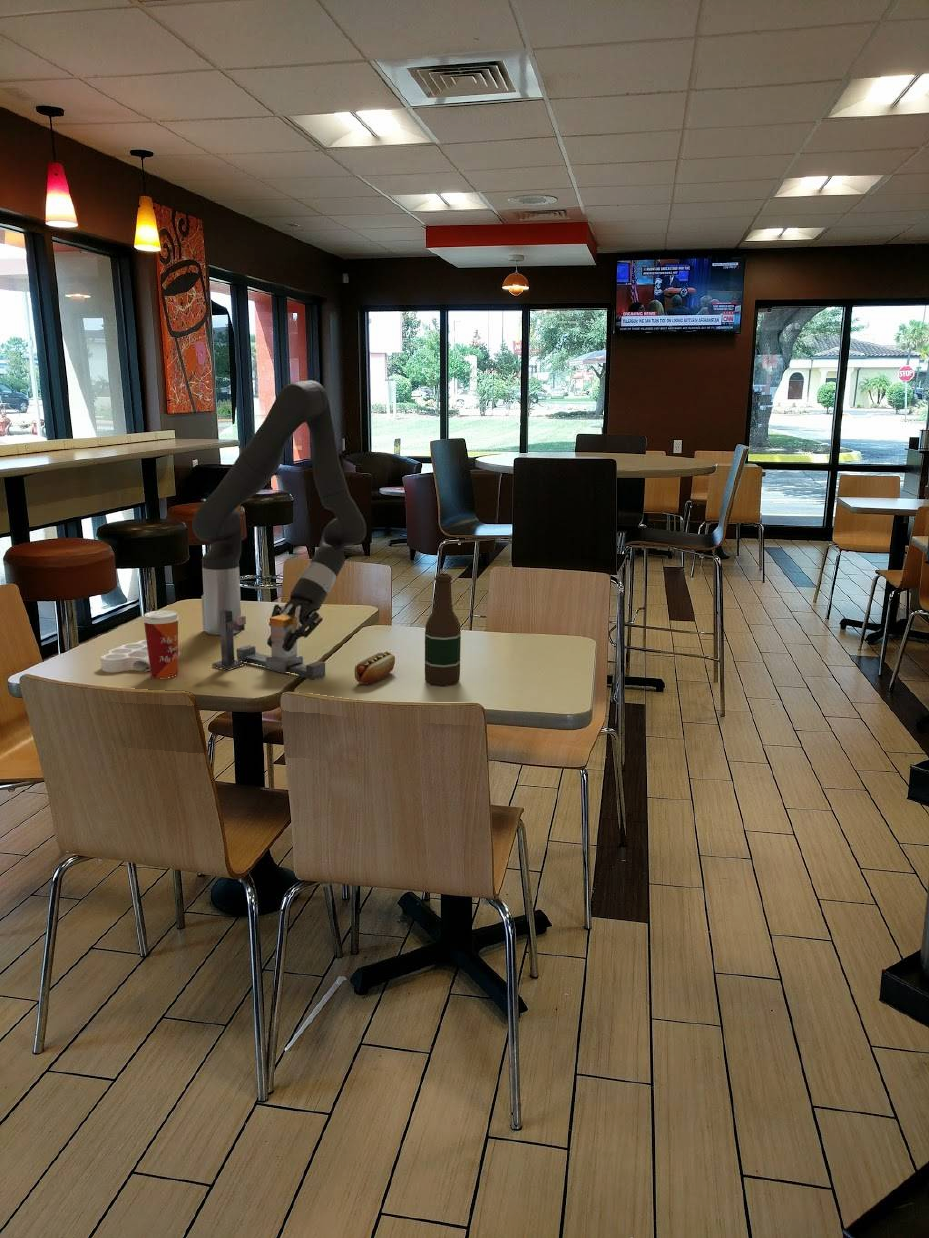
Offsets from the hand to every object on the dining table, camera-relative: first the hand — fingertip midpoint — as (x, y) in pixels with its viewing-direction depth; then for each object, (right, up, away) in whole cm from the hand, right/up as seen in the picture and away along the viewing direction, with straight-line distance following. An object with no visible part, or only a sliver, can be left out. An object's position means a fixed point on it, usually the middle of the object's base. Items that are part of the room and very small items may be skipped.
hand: (277, 647), depth 206 cm
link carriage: (+1, -5, +3) cm, 6 cm away
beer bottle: (+37, -8, -4) cm, 38 cm away
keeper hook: (-11, -5, +4) cm, 13 cm away
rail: (0, -5, +4) cm, 6 cm away
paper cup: (-24, -6, -3) cm, 25 cm away
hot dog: (+22, -7, -3) cm, 24 cm away
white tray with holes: (-34, -4, +7) cm, 35 cm away
